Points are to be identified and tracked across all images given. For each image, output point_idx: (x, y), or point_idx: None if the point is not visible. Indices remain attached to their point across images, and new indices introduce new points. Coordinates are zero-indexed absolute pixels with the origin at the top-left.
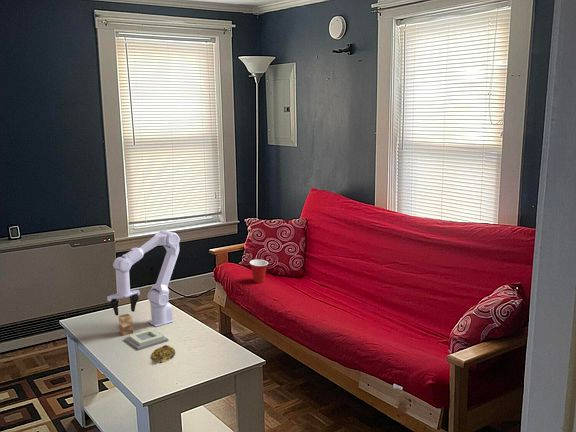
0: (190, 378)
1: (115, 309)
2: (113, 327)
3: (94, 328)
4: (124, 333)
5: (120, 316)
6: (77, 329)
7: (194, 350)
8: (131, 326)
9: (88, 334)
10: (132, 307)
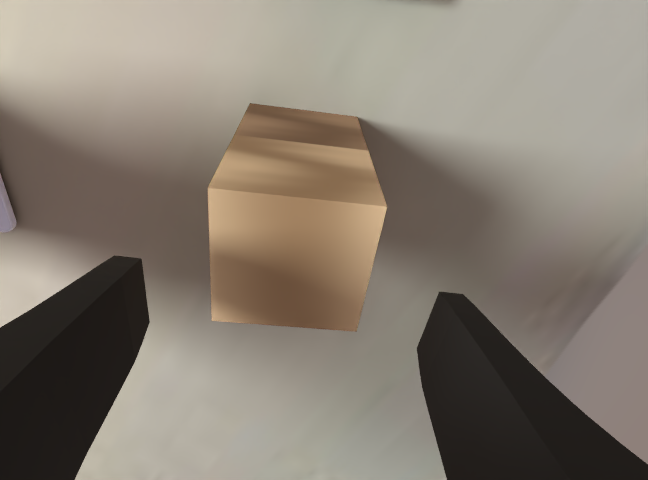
0: None
1: (567, 398)
2: None
3: (411, 383)
4: (349, 122)
5: (345, 303)
6: None
7: None
8: (254, 130)
9: (506, 335)
10: (103, 338)
